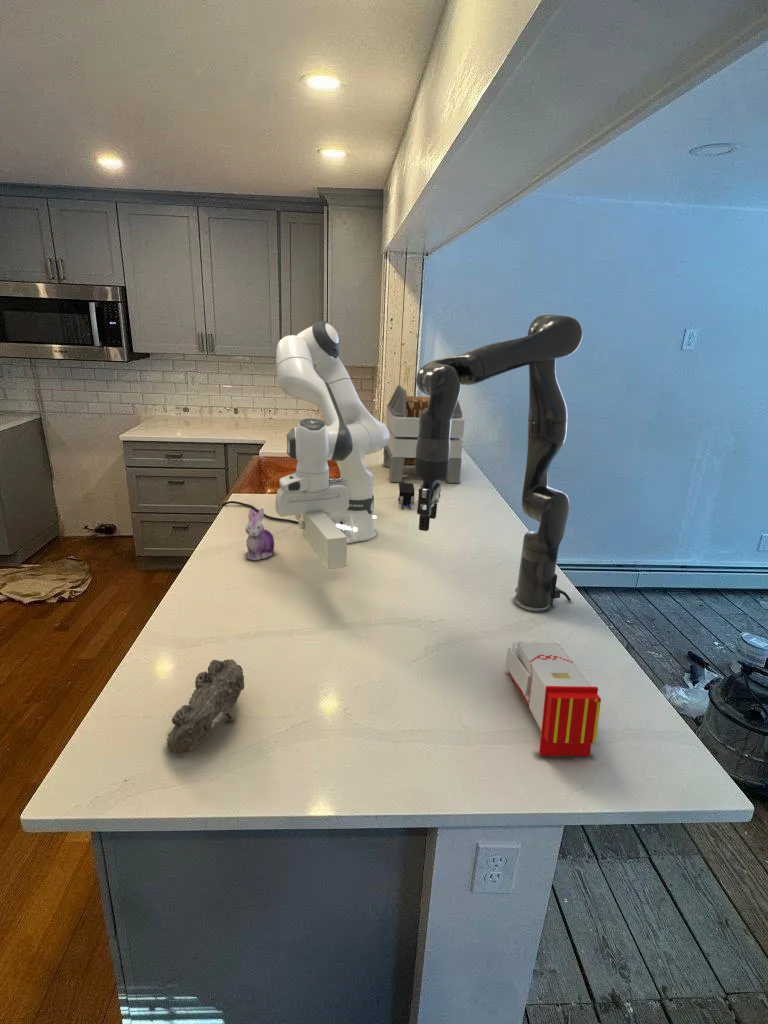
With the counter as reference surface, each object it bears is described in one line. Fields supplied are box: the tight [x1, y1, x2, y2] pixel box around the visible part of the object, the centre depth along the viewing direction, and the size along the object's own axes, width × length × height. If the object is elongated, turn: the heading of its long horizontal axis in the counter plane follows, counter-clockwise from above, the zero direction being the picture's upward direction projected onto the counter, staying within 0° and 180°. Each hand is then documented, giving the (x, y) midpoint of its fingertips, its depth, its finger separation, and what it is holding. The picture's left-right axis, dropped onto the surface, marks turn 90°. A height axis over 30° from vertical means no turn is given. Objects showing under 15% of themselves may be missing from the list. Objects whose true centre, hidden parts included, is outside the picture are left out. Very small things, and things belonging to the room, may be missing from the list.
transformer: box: [383, 384, 465, 484], centre depth 268 cm, size 34×33×41 cm
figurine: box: [245, 508, 275, 561], centre depth 176 cm, size 9×10×15 cm
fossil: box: [166, 658, 245, 754], centre depth 106 cm, size 22×10×15 cm
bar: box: [301, 511, 348, 571], centre depth 150 cm, size 25×5×8 cm, turn 22°
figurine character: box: [397, 482, 416, 510], centre depth 228 cm, size 7×8×15 cm
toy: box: [505, 641, 602, 757], centre depth 113 cm, size 12×13×30 cm
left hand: (313, 527), depth 158 cm, fingers closed on bar, 5 cm apart
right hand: (427, 523), depth 131 cm, fingers open, 8 cm apart
